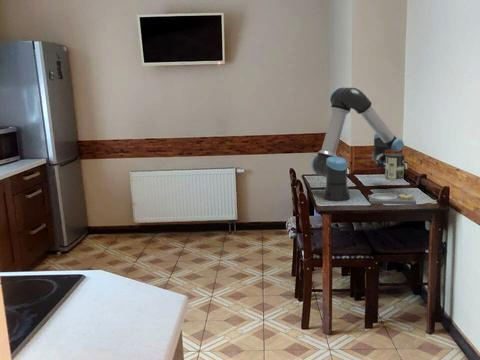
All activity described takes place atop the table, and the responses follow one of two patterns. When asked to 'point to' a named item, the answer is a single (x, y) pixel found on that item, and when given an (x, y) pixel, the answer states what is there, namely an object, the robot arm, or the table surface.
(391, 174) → the coffee can
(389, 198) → the gear board
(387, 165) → the robot arm
